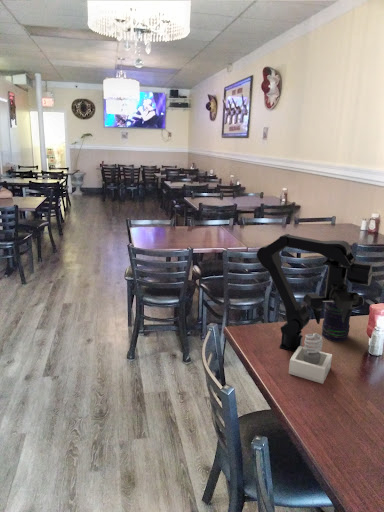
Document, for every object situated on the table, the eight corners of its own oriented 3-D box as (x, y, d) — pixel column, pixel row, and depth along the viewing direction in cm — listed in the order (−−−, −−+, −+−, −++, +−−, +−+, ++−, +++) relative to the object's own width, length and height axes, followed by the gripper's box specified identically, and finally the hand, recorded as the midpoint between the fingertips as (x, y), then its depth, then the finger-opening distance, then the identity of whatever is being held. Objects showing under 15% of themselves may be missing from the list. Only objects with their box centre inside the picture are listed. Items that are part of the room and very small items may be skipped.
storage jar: (340, 329, 161) (345, 294, 157) (353, 341, 152) (358, 304, 148) (316, 330, 160) (321, 295, 156) (328, 342, 150) (332, 305, 146)
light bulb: (310, 374, 127) (314, 339, 124) (298, 365, 132) (301, 332, 128) (323, 369, 129) (327, 335, 126) (310, 361, 134) (314, 328, 131)
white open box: (288, 373, 129) (289, 359, 127) (298, 359, 138) (299, 345, 136) (322, 383, 123) (324, 369, 122) (330, 368, 132) (332, 354, 131)
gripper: (320, 288, 123) (315, 335, 127) (376, 286, 125) (369, 332, 129) (305, 277, 133) (300, 320, 137) (357, 275, 136) (351, 318, 140)
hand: (330, 322), depth 136 cm, fingers open, 9 cm apart
